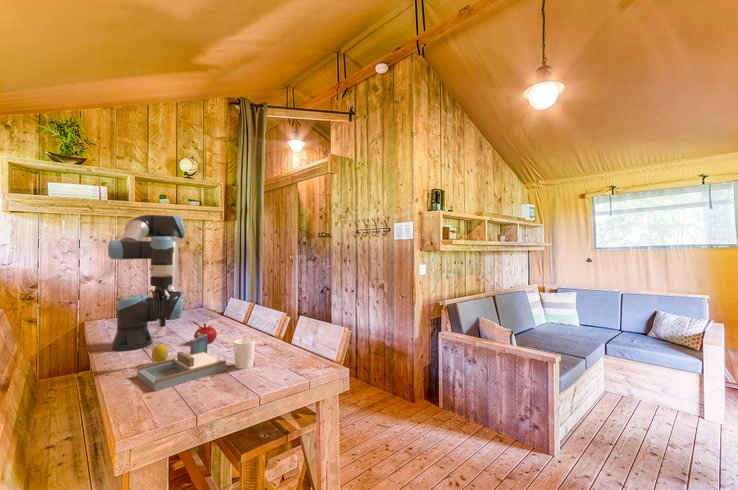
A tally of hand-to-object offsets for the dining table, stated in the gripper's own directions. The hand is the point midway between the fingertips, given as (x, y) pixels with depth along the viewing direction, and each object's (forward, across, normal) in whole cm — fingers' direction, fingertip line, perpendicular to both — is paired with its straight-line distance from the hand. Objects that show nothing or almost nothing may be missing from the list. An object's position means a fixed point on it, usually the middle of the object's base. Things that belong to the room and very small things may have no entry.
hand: (161, 334), depth 132 cm
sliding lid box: (+12, +17, +1) cm, 20 cm away
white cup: (+12, +27, +20) cm, 36 cm away
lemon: (+12, 0, 0) cm, 12 cm away
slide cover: (+9, +17, +7) cm, 20 cm away
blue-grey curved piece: (+12, +5, +13) cm, 18 cm away
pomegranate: (+13, -16, +25) cm, 32 cm away
